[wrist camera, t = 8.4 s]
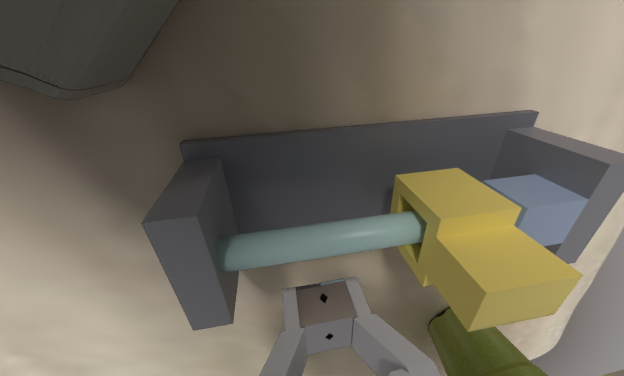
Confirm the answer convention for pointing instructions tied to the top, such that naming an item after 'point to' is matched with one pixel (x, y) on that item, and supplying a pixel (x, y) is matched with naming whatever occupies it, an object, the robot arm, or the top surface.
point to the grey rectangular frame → (360, 196)
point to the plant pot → (477, 350)
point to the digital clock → (76, 43)
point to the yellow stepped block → (479, 251)
